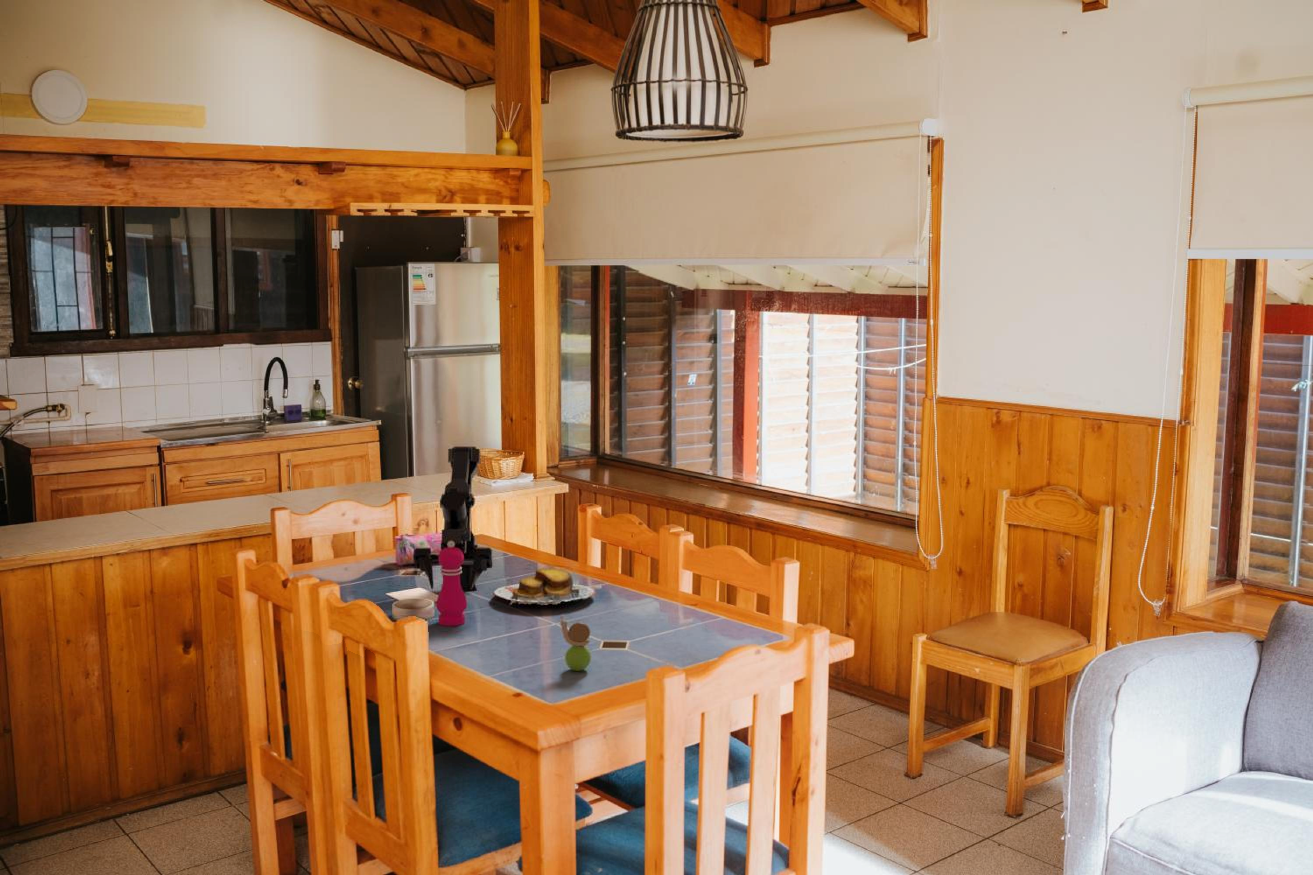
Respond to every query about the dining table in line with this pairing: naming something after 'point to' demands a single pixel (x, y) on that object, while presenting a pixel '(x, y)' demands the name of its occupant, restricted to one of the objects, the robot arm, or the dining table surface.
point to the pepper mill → (451, 587)
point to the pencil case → (415, 546)
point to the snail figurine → (577, 645)
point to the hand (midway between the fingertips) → (451, 588)
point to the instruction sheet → (414, 594)
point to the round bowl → (413, 608)
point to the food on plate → (545, 589)
